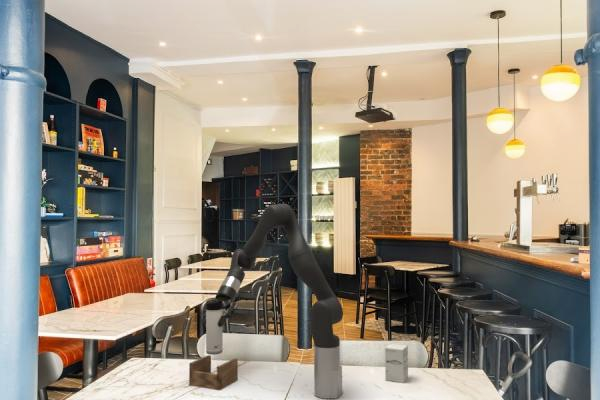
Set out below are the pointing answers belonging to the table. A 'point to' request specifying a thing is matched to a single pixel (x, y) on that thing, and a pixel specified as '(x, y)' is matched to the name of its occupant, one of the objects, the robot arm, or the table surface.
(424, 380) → the table surface
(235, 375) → the cradle
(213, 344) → the travel mug
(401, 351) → the supplement box
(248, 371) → the table surface
